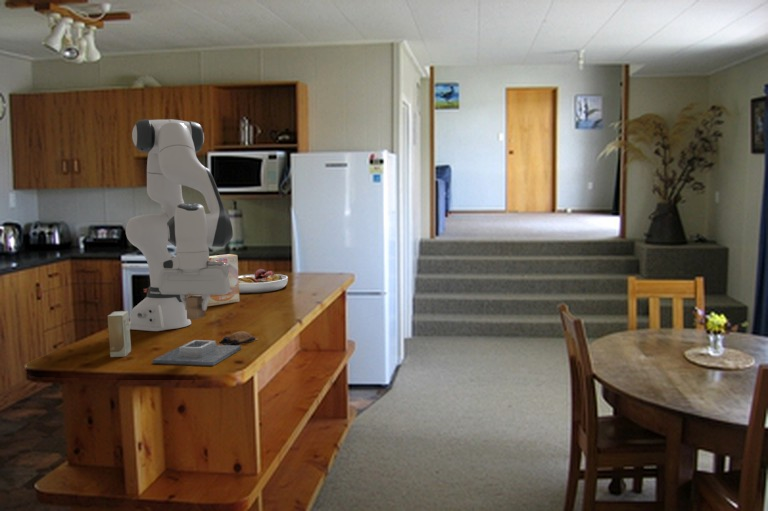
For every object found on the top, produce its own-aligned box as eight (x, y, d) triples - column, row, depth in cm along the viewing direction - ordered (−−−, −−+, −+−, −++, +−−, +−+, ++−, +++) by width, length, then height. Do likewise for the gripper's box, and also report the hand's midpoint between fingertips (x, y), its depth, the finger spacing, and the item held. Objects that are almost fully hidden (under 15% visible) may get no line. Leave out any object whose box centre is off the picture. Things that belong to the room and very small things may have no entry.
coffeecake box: (206, 306, 268) (204, 258, 265) (198, 304, 273) (196, 256, 271) (240, 301, 277) (238, 254, 275) (231, 299, 283) (229, 253, 281)
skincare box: (116, 352, 198) (113, 311, 196) (131, 351, 198) (129, 310, 197) (109, 357, 191) (106, 315, 190) (125, 357, 192) (122, 314, 190)
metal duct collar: (152, 363, 184) (151, 351, 184) (185, 347, 201) (184, 335, 201) (213, 365, 180) (212, 353, 180) (241, 349, 198) (240, 337, 197)
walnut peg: (195, 315, 192) (194, 294, 192) (205, 315, 192) (204, 295, 191) (187, 319, 187) (185, 298, 187) (197, 319, 187) (195, 298, 186)
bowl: (282, 293, 296) (281, 276, 295) (214, 295, 297) (213, 277, 296) (292, 283, 326) (291, 267, 325) (231, 284, 326) (230, 268, 326)
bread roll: (244, 338, 214) (243, 327, 214) (260, 341, 209) (260, 330, 208) (215, 344, 206) (215, 333, 206) (232, 348, 201) (232, 336, 200)
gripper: (232, 260, 189) (235, 308, 190) (165, 260, 193) (168, 307, 194) (222, 262, 183) (225, 312, 184) (154, 262, 187) (157, 311, 188)
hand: (195, 310), depth 189 cm, fingers closed on walnut peg, 3 cm apart
